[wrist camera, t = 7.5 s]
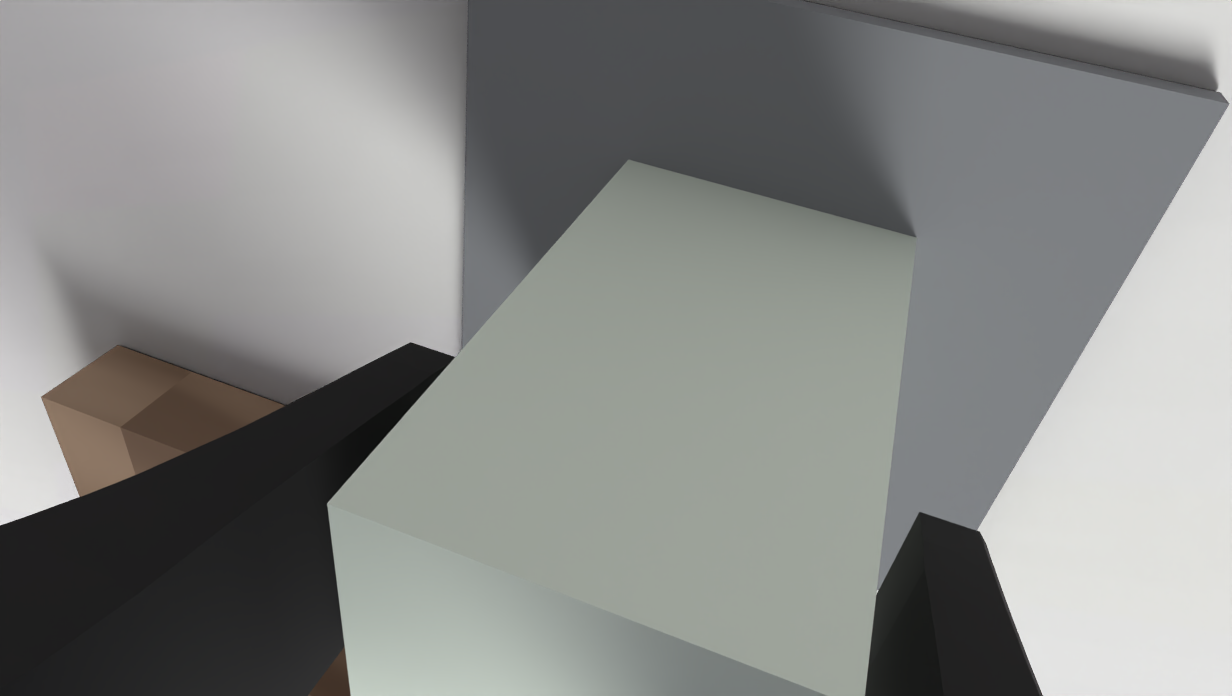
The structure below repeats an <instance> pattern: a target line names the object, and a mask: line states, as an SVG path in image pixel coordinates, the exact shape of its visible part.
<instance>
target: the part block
mask: <svg viewBox="0 0 1232 696" xmlns="http://www.w3.org/2000/svg"><path fill="white" fill-rule="evenodd" d="M916 240H917V238H916V237H913V236H909V235H905V234H902V233H898V232H894V231H891V230H887V229H883V228H879V227H876V226H872V225H868V224H865V223H861V222H857V221H854V220H850V219H846V218H843V217H839V216H835V215H831V214H828V213H824V212H820V211H817V210H813V209H809V208H806V207H802V206H798V205H794V204H791V203H787V202H783V201H780V200H776V199H772V198H769V197H765V196H761V195H758V194H754V193H750V192H746V191H743V190H739V189H735V188H732V187H728V186H724V185H721V184H717V183H713V182H710V181H706V180H702V179H698V178H695V177H691V176H687V175H684V174H680V173H676V172H673V171H669V170H665V169H662V168H658V167H654V166H650V165H647V164H643V163H639V162H636V161H632V160H628V161H627V162H626V163H625V164H624V165H623V166H622V167H621V169H620V170H619V171H618V172H617V173H616V174H615V175H614V177H613V178H612V179H611V180H610V181H609V182H608V183H607V185H606V186H605V187H604V188H603V189H602V190H601V191H600V193H599V194H598V195H597V196H596V197H595V198H594V199H593V201H592V202H591V203H590V204H589V205H588V206H587V207H586V209H585V210H584V211H583V212H582V213H581V214H580V215H579V217H578V218H577V219H576V220H575V221H574V222H573V223H572V225H571V226H570V227H569V228H568V229H567V230H566V231H565V233H564V234H563V235H562V236H561V237H560V238H559V239H558V240H557V242H556V243H555V244H554V245H553V246H552V247H551V248H550V250H549V251H548V252H547V253H546V254H545V255H544V256H543V258H542V259H541V260H540V261H539V262H538V263H537V264H536V266H535V267H534V268H533V269H532V270H531V271H530V272H529V274H528V275H527V276H526V277H525V278H524V279H523V280H522V282H521V283H520V284H519V285H518V286H517V287H516V288H515V290H514V291H513V292H512V293H511V294H510V295H509V296H508V298H507V299H506V300H505V301H504V302H503V303H502V304H501V306H500V307H499V308H498V309H497V310H496V311H495V312H494V314H493V315H492V316H491V317H490V318H489V319H488V320H487V322H486V323H485V324H484V325H483V326H482V327H481V328H480V330H479V331H478V332H477V333H476V334H475V335H474V336H473V338H472V339H471V340H470V341H469V342H468V343H467V344H466V345H465V347H464V348H463V349H462V350H461V351H460V352H459V353H458V355H457V356H456V357H455V358H454V359H453V360H452V361H451V363H450V364H449V365H448V366H447V367H446V368H445V369H444V371H443V372H442V373H441V374H440V375H439V376H438V377H437V379H436V380H435V381H434V382H433V383H432V384H431V385H430V387H429V388H428V389H427V390H426V391H425V392H424V393H423V395H422V396H421V397H420V398H419V399H418V400H417V401H416V403H415V404H414V405H413V406H412V407H411V408H410V409H409V411H408V412H407V413H406V414H405V415H404V416H403V417H402V419H401V420H400V421H399V422H398V423H397V424H396V425H395V427H394V428H393V429H392V430H391V431H390V432H389V433H388V435H387V436H386V437H385V438H384V439H383V440H382V441H381V443H380V444H379V445H378V446H377V447H376V448H375V449H374V450H373V452H372V453H371V454H370V455H369V456H368V457H367V458H366V460H365V461H364V462H363V463H362V464H361V465H360V466H359V468H358V469H357V470H356V471H355V472H354V473H353V474H352V476H351V477H350V478H349V479H348V480H347V481H346V482H345V484H344V485H343V486H342V487H341V488H340V489H339V490H338V492H337V493H336V494H335V495H334V496H333V497H332V498H331V500H330V501H329V502H328V503H327V507H328V515H329V523H330V531H331V539H332V548H333V556H334V564H335V572H336V580H337V588H338V596H339V604H340V612H341V621H342V629H343V637H344V645H345V653H346V661H347V669H348V677H349V685H350V694H351V696H865V690H866V681H867V672H868V663H869V655H870V646H871V637H872V628H873V619H874V611H875V602H876V593H877V584H878V575H879V566H880V558H881V549H882V540H883V531H884V522H885V513H886V505H887V496H888V487H889V478H890V469H891V461H892V452H893V443H894V434H895V425H896V416H897V408H898V399H899V390H900V381H901V372H902V363H903V355H904V346H905V337H906V328H907V319H908V311H909V302H910V293H911V284H912V275H913V266H914V258H915V249H916Z"/></svg>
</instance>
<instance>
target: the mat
mask: <svg viewBox="0 0 1232 696" xmlns="http://www.w3.org/2000/svg"><path fill="white" fill-rule="evenodd" d="M1228 105H1229V103H1228V102H1227V100H1226V99H1225V98H1224V96H1223V95H1222V94H1221V93H1220V92H1215V91H1211V90H1206V89H1202V88H1197V87H1193V86H1188V85H1184V84H1179V83H1175V82H1170V81H1166V80H1161V79H1157V78H1152V77H1147V76H1143V75H1138V74H1134V73H1129V72H1125V71H1120V70H1116V69H1111V68H1107V67H1102V66H1098V65H1093V64H1089V63H1084V62H1080V61H1075V60H1070V59H1066V58H1061V57H1057V56H1052V55H1048V54H1043V53H1039V52H1034V51H1030V50H1025V49H1021V48H1016V47H1012V46H1007V45H1002V44H998V43H993V42H989V41H984V40H980V39H975V38H971V37H966V36H962V35H957V34H953V33H948V32H944V31H939V30H935V29H930V28H925V27H921V26H916V25H912V24H907V23H903V22H898V21H894V20H889V19H885V18H880V17H876V16H871V15H867V14H862V13H858V12H853V11H848V10H844V9H839V8H835V7H830V6H826V5H821V4H817V3H812V2H808V1H803V0H468V44H467V101H466V157H465V213H464V269H463V325H462V349H463V348H464V347H465V345H466V344H467V343H468V342H469V341H470V340H471V339H472V338H473V336H474V335H475V334H476V333H477V332H478V331H479V330H480V328H481V327H482V326H483V325H484V324H485V323H486V322H487V320H488V319H489V318H490V317H491V316H492V315H493V314H494V312H495V311H496V310H497V309H498V308H499V307H500V306H501V304H502V303H503V302H504V301H505V300H506V299H507V298H508V296H509V295H510V294H511V293H512V292H513V291H514V290H515V288H516V287H517V286H518V285H519V284H520V283H521V282H522V280H523V279H524V278H525V277H526V276H527V275H528V274H529V272H530V271H531V270H532V269H533V268H534V267H535V266H536V264H537V263H538V262H539V261H540V260H541V259H542V258H543V256H544V255H545V254H546V253H547V252H548V251H549V250H550V248H551V247H552V246H553V245H554V244H555V243H556V242H557V240H558V239H559V238H560V237H561V236H562V235H563V234H564V233H565V231H566V230H567V229H568V228H569V227H570V226H571V225H572V223H573V222H574V221H575V220H576V219H577V218H578V217H579V215H580V214H581V213H582V212H583V211H584V210H585V209H586V207H587V206H588V205H589V204H590V203H591V202H592V201H593V199H594V198H595V197H596V196H597V195H598V194H599V193H600V191H601V190H602V189H603V188H604V187H605V186H606V185H607V183H608V182H609V181H610V180H611V179H612V178H613V177H614V175H615V174H616V173H617V172H618V171H619V170H620V169H621V167H622V166H623V165H624V164H625V163H626V162H627V161H628V160H632V161H636V162H639V163H643V164H647V165H650V166H654V167H658V168H662V169H665V170H669V171H673V172H676V173H680V174H684V175H687V176H691V177H695V178H698V179H702V180H706V181H710V182H713V183H717V184H721V185H724V186H728V187H732V188H735V189H739V190H743V191H746V192H750V193H754V194H758V195H761V196H765V197H769V198H772V199H776V200H780V201H783V202H787V203H791V204H794V205H798V206H802V207H806V208H809V209H813V210H817V211H820V212H824V213H828V214H831V215H835V216H839V217H843V218H846V219H850V220H854V221H857V222H861V223H865V224H868V225H872V226H876V227H879V228H883V229H887V230H891V231H894V232H898V233H902V234H905V235H909V236H913V237H916V238H917V240H916V249H915V258H914V266H913V275H912V284H911V293H910V302H909V311H908V319H907V328H906V337H905V346H904V355H903V363H902V372H901V381H900V390H899V399H898V408H897V416H896V425H895V434H894V443H893V452H892V461H891V469H890V478H889V487H888V496H887V505H886V513H885V522H884V531H883V540H882V549H881V558H880V566H879V575H878V584H877V590H879V589H880V587H881V585H882V583H883V581H884V579H885V577H886V575H887V573H888V571H889V569H890V567H891V566H892V564H893V562H894V560H895V558H896V556H897V554H898V552H899V550H900V548H901V546H902V544H903V542H904V540H905V539H906V537H907V535H908V533H909V531H910V529H911V527H912V525H913V523H914V521H915V519H916V517H917V515H918V513H919V512H922V513H925V514H928V515H931V516H934V517H937V518H940V519H943V520H946V521H949V522H952V523H955V524H958V525H961V526H964V527H967V528H970V529H973V530H976V531H977V529H978V527H979V526H980V524H981V522H982V521H983V519H984V517H985V516H986V514H987V512H988V510H989V509H990V507H991V505H992V504H993V502H994V500H995V499H996V497H997V495H998V494H999V492H1000V490H1001V489H1002V487H1003V485H1004V483H1005V482H1006V480H1007V478H1008V477H1009V475H1010V473H1011V472H1012V470H1013V468H1014V467H1015V465H1016V463H1017V462H1018V460H1019V458H1020V456H1021V455H1022V453H1023V451H1024V450H1025V448H1026V446H1027V445H1028V443H1029V441H1030V440H1031V438H1032V436H1033V435H1034V433H1035V431H1036V429H1037V428H1038V426H1039V424H1040V423H1041V421H1042V419H1043V418H1044V416H1045V414H1046V413H1047V411H1048V409H1049V408H1050V406H1051V404H1052V402H1053V401H1054V399H1055V397H1056V396H1057V394H1058V392H1059V391H1060V389H1061V387H1062V386H1063V384H1064V382H1065V380H1066V379H1067V377H1068V375H1069V374H1070V372H1071V370H1072V369H1073V367H1074V365H1075V364H1076V362H1077V360H1078V359H1079V357H1080V355H1081V353H1082V352H1083V350H1084V348H1085V347H1086V345H1087V343H1088V342H1089V340H1090V338H1091V337H1092V335H1093V333H1094V332H1095V330H1096V328H1097V326H1098V325H1099V323H1100V321H1101V320H1102V318H1103V316H1104V315H1105V313H1106V311H1107V310H1108V308H1109V306H1110V305H1111V303H1112V301H1113V299H1114V298H1115V296H1116V294H1117V293H1118V291H1119V289H1120V288H1121V286H1122V284H1123V283H1124V281H1125V279H1126V278H1127V276H1128V274H1129V272H1130V271H1131V269H1132V267H1133V266H1134V264H1135V262H1136V261H1137V259H1138V257H1139V256H1140V254H1141V252H1142V250H1143V249H1144V247H1145V245H1146V244H1147V242H1148V240H1149V239H1150V237H1151V235H1152V234H1153V232H1154V230H1155V229H1156V227H1157V225H1158V223H1159V222H1160V220H1161V218H1162V217H1163V215H1164V213H1165V212H1166V210H1167V208H1168V207H1169V205H1170V203H1171V202H1172V200H1173V198H1174V196H1175V195H1176V193H1177V191H1178V190H1179V188H1180V186H1181V185H1182V183H1183V181H1184V180H1185V178H1186V176H1187V175H1188V173H1189V171H1190V169H1191V168H1192V166H1193V164H1194V163H1195V161H1196V159H1197V158H1198V156H1199V154H1200V153H1201V151H1202V149H1203V148H1204V146H1205V144H1206V142H1207V141H1208V139H1209V137H1210V136H1211V134H1212V132H1213V131H1214V129H1215V127H1216V126H1217V124H1218V122H1219V120H1220V119H1221V117H1222V115H1223V114H1224V112H1225V110H1226V109H1227V107H1228Z"/></svg>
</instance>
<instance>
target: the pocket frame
mask: <svg viewBox="0 0 1232 696" xmlns="http://www.w3.org/2000/svg"><path fill="white" fill-rule="evenodd" d="M41 398H42V401H43V403H44V406H45V408H46V411H47V413H48V416H49V419H50V421H51V424H52V426H53V429H54V431H55V434H56V437H57V439H58V442H59V444H60V447H61V449H62V452H63V455H64V457H65V460H66V462H67V465H68V468H69V470H70V473H71V475H72V478H73V480H74V483H75V486H76V488H77V491H78V493H79V496H80V497H81V496H84V495H87V494H89V493H92V492H94V491H97V490H99V489H102V488H104V487H107V486H109V485H112V484H115V483H117V482H119V481H122V480H124V479H127V478H129V477H132V476H134V475H136V474H139V473H141V472H144V471H146V470H148V469H150V468H152V467H155V466H157V465H159V464H161V463H164V462H166V461H168V460H170V459H173V458H175V457H177V456H179V455H182V454H184V453H186V452H188V451H191V450H193V449H195V448H197V447H199V446H202V445H204V444H206V443H208V442H211V441H213V440H215V439H217V438H220V437H222V436H224V435H226V434H229V433H231V432H233V431H235V430H237V429H239V428H242V427H244V426H246V425H248V424H250V423H252V422H254V421H256V420H258V419H260V418H262V417H264V416H266V415H268V414H270V413H272V412H274V411H276V410H278V409H280V408H282V407H284V406H285V405H282V404H280V403H277V402H274V401H271V400H269V399H266V398H263V397H260V396H258V395H255V394H252V393H249V392H246V391H244V390H241V389H238V388H235V387H233V386H230V385H227V384H224V383H221V382H219V381H216V380H213V379H210V378H208V377H205V376H202V375H199V374H197V373H194V372H191V371H188V370H185V369H183V368H180V367H177V366H174V365H172V364H169V363H166V362H163V361H161V360H158V359H155V358H152V357H149V356H147V355H144V354H141V353H138V352H136V351H133V350H130V349H127V348H125V347H122V346H119V345H117V346H116V347H114V348H113V349H111V350H110V351H108V352H107V353H105V354H104V355H102V356H101V357H99V358H98V359H96V360H95V361H94V362H92V363H91V364H89V365H88V366H86V367H85V368H83V369H82V370H80V371H79V372H77V373H76V374H74V375H73V376H71V377H70V378H68V379H67V380H65V381H64V382H62V383H61V384H59V385H58V386H57V387H55V388H54V389H52V390H51V391H49V392H48V393H46V394H45V395H43V396H42V397H41ZM308 696H351V694H350V685H349V677H348V669H347V661H346V653H345V647H344V648H343V649H342V651H341V652H340V653H339V655H338V656H337V657H336V659H335V660H334V661H333V663H332V664H331V665H330V667H329V668H328V669H327V671H326V672H325V673H324V675H323V676H322V677H321V679H320V680H319V681H318V683H317V684H316V685H315V687H314V688H313V689H312V691H311V692H310V693H309V695H308Z"/></svg>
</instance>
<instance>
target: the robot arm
mask: <svg viewBox="0 0 1232 696" xmlns="http://www.w3.org/2000/svg"><path fill="white" fill-rule="evenodd" d="M454 358H455V357H453V356H450V355H447V354H444V353H441V352H438V351H435V350H432V349H429V348H426V347H423V346H420V345H417V344H414V343H409V344H407V345H405V346H403V347H400V348H398V349H396V350H394V351H392V352H390V353H388V354H386V355H384V356H382V357H380V358H378V359H376V360H374V361H372V362H370V363H368V364H367V365H365V366H363V367H361V368H359V369H357V370H355V371H353V372H351V373H349V374H347V375H345V376H343V377H341V378H339V379H337V380H336V381H334V382H332V383H330V384H328V385H326V386H324V387H322V388H320V389H318V390H316V391H314V392H312V393H310V394H308V395H306V396H304V397H302V398H300V399H298V400H296V401H294V402H292V403H290V404H288V405H286V406H284V407H282V408H280V409H278V410H276V411H274V412H272V413H270V414H268V415H266V416H264V417H262V418H260V419H258V420H256V421H254V422H252V423H250V424H248V425H246V426H244V427H242V428H239V429H237V430H235V431H233V432H231V433H229V434H226V435H224V436H222V437H220V438H217V439H215V440H213V441H211V442H208V443H206V444H204V445H202V446H199V447H197V448H195V449H193V450H191V451H188V452H186V453H184V454H182V455H179V456H177V457H175V458H173V459H170V460H168V461H166V462H164V463H161V464H159V465H157V466H155V467H152V468H150V469H148V470H146V471H144V472H141V473H139V474H136V475H134V476H132V477H129V478H127V479H124V480H122V481H119V482H117V483H115V484H112V485H109V486H107V487H104V488H102V489H99V490H97V491H94V492H92V493H89V494H87V495H84V496H81V497H79V498H76V499H73V500H70V501H68V502H65V503H62V504H59V505H57V506H54V507H51V508H48V509H46V510H43V511H40V512H38V513H35V514H32V515H29V516H27V517H24V518H21V519H18V520H15V521H12V522H9V523H7V524H4V525H1V526H0V696H308V695H309V693H310V692H311V691H312V689H313V688H314V687H315V685H316V684H317V683H318V681H319V680H320V679H321V677H322V676H323V675H324V673H325V672H326V671H327V669H328V668H329V667H330V665H331V664H332V663H333V661H334V660H335V659H336V657H337V656H338V655H339V653H340V652H341V651H342V649H343V648H344V647H345V645H344V637H343V629H342V621H341V612H340V604H339V596H338V588H337V580H336V572H335V564H334V556H333V548H332V539H331V531H330V523H329V515H328V507H327V503H328V502H329V501H330V500H331V498H332V497H333V496H334V495H335V494H336V493H337V492H338V490H339V489H340V488H341V487H342V486H343V485H344V484H345V482H346V481H347V480H348V479H349V478H350V477H351V476H352V474H353V473H354V472H355V471H356V470H357V469H358V468H359V466H360V465H361V464H362V463H363V462H364V461H365V460H366V458H367V457H368V456H369V455H370V454H371V453H372V452H373V450H374V449H375V448H376V447H377V446H378V445H379V444H380V443H381V441H382V440H383V439H384V438H385V437H386V436H387V435H388V433H389V432H390V431H391V430H392V429H393V428H394V427H395V425H396V424H397V423H398V422H399V421H400V420H401V419H402V417H403V416H404V415H405V414H406V413H407V412H408V411H409V409H410V408H411V407H412V406H413V405H414V404H415V403H416V401H417V400H418V399H419V398H420V397H421V396H422V395H423V393H424V392H425V391H426V390H427V389H428V388H429V387H430V385H431V384H432V383H433V382H434V381H435V380H436V379H437V377H438V376H439V375H440V374H441V373H442V372H443V371H444V369H445V368H446V367H447V366H448V365H449V364H450V363H451V361H452V360H453V359H454ZM865 696H1043V695H1042V693H1041V690H1040V688H1039V685H1038V683H1037V680H1036V678H1035V675H1034V673H1033V670H1032V668H1031V665H1030V663H1029V660H1028V658H1027V655H1026V653H1025V650H1024V647H1023V645H1022V642H1021V640H1020V637H1019V634H1018V632H1017V629H1016V626H1015V624H1014V621H1013V619H1012V616H1011V613H1010V610H1009V608H1008V605H1007V602H1006V600H1005V597H1004V594H1003V591H1002V588H1001V586H1000V583H999V580H998V577H997V574H996V571H995V569H994V566H993V563H992V560H991V557H990V554H989V551H988V548H987V545H986V543H985V541H984V539H983V537H982V535H981V533H980V532H979V531H976V530H973V529H970V528H967V527H964V526H961V525H958V524H955V523H952V522H949V521H946V520H943V519H940V518H937V517H934V516H931V515H928V514H925V513H922V512H919V513H918V515H917V517H916V519H915V521H914V523H913V525H912V527H911V529H910V531H909V533H908V535H907V537H906V539H905V540H904V542H903V544H902V546H901V548H900V550H899V552H898V554H897V556H896V558H895V560H894V562H893V564H892V566H891V567H890V569H889V571H888V573H887V575H886V577H885V579H884V581H883V583H882V585H881V587H880V589H879V591H878V593H877V595H876V602H875V611H874V619H873V628H872V637H871V646H870V655H869V663H868V672H867V681H866V690H865Z"/></svg>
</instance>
